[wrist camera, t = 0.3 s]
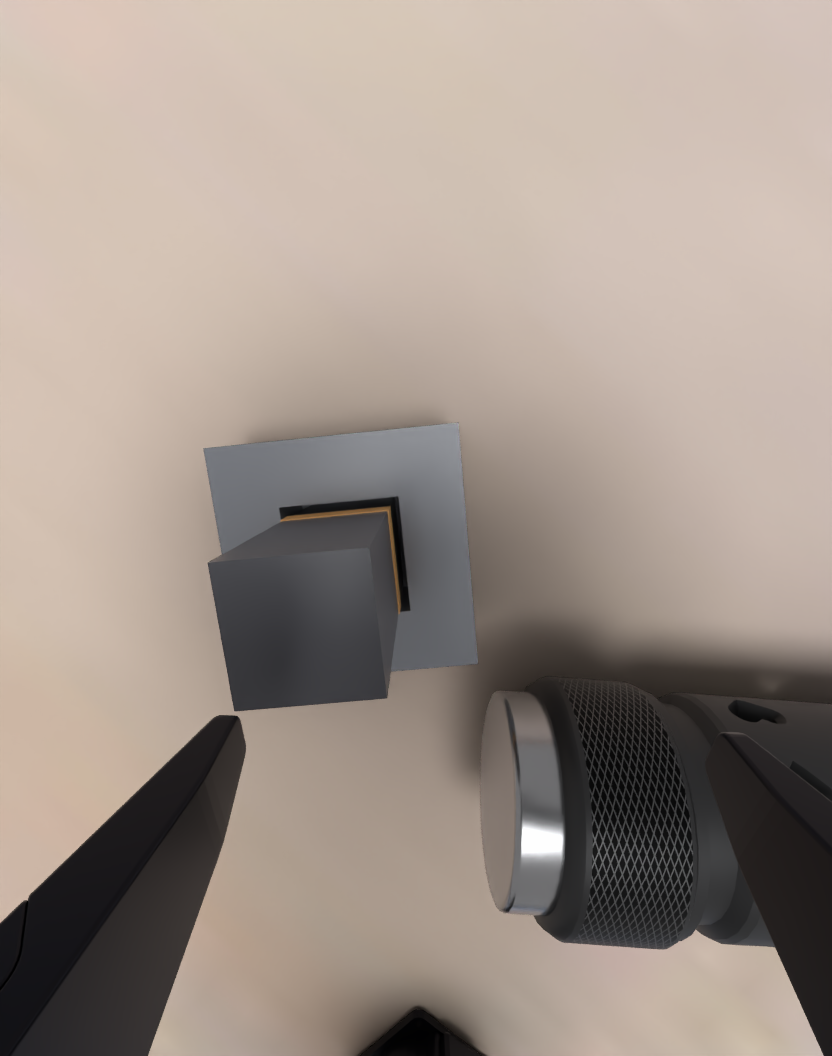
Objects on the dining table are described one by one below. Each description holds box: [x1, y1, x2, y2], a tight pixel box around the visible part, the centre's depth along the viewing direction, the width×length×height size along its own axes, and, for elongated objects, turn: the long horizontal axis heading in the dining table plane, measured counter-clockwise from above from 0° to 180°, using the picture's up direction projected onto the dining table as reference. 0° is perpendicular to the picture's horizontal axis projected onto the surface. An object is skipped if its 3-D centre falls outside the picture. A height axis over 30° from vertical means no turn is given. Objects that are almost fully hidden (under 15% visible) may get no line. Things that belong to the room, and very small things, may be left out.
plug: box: [208, 497, 403, 711], centre depth 17 cm, size 4×4×11 cm
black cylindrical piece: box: [480, 677, 832, 949], centre depth 21 cm, size 10×28×10 cm, turn 86°
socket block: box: [203, 423, 478, 672], centre depth 22 cm, size 10×10×4 cm
